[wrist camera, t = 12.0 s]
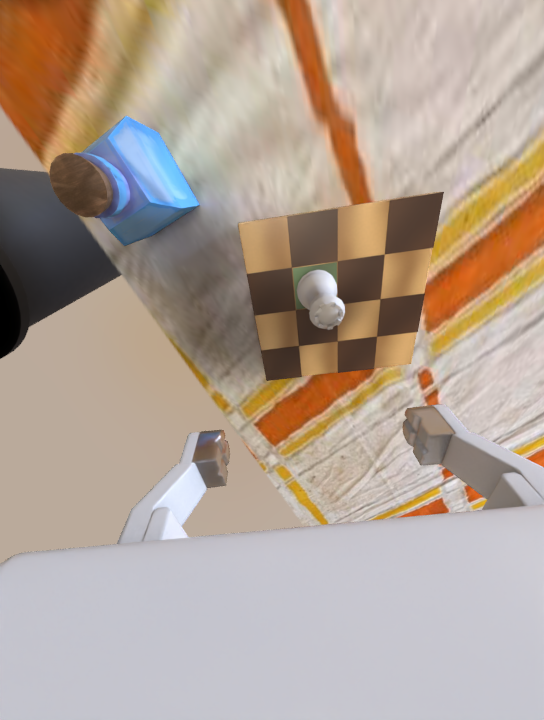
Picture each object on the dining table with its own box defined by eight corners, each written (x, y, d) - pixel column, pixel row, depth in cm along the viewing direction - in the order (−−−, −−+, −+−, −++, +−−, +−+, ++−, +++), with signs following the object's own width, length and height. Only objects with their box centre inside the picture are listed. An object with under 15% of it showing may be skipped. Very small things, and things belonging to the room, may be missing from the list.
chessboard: (266, 376, 38) (266, 380, 37) (238, 222, 27) (237, 223, 26) (408, 360, 36) (411, 364, 36) (437, 191, 26) (443, 191, 25)
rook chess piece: (343, 288, 30) (364, 316, 23) (313, 314, 31) (325, 347, 25) (317, 259, 28) (332, 281, 21) (288, 289, 30) (293, 317, 23)
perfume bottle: (151, 235, 28) (83, 260, 18) (107, 171, 25) (-5, 158, 15) (199, 204, 26) (155, 213, 16) (158, 133, 23) (72, 87, 13)
